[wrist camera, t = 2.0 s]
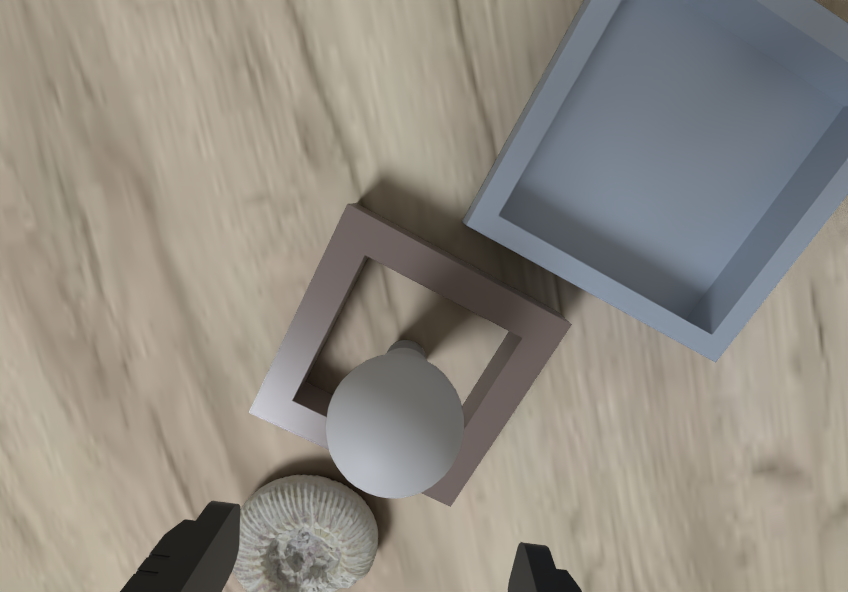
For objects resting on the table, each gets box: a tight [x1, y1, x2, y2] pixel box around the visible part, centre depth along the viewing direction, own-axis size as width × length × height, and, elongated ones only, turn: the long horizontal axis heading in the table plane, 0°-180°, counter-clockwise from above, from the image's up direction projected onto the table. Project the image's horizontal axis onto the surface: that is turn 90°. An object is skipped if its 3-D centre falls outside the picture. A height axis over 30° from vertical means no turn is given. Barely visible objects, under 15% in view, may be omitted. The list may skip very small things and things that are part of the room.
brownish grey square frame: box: [249, 203, 572, 507], centre depth 24 cm, size 14×14×2 cm
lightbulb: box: [326, 340, 464, 498], centre depth 20 cm, size 6×6×11 cm
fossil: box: [233, 475, 378, 592], centre depth 27 cm, size 11×4×10 cm
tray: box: [462, 0, 848, 362], centre depth 21 cm, size 16×16×3 cm
